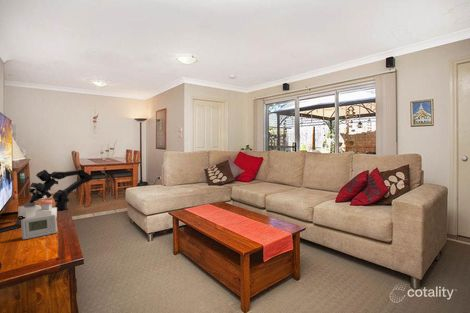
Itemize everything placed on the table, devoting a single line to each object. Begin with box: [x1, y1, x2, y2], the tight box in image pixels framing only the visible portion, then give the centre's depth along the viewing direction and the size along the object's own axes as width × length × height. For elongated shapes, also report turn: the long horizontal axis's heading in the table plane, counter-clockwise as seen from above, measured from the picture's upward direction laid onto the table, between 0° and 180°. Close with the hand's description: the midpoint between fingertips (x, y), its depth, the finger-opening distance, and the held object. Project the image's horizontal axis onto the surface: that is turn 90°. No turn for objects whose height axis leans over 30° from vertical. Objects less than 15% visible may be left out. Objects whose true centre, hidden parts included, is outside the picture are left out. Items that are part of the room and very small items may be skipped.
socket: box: [17, 204, 41, 219], centre depth 174 cm, size 9×9×7 cm
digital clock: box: [20, 214, 58, 240], centre depth 138 cm, size 16×9×11 cm, turn 133°
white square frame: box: [35, 206, 58, 218], centre depth 168 cm, size 9×9×7 cm
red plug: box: [40, 199, 54, 210], centre depth 168 cm, size 6×6×8 cm
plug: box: [23, 201, 37, 207], centre depth 174 cm, size 6×6×8 cm
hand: (30, 202), depth 174 cm, fingers closed, pressing on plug
